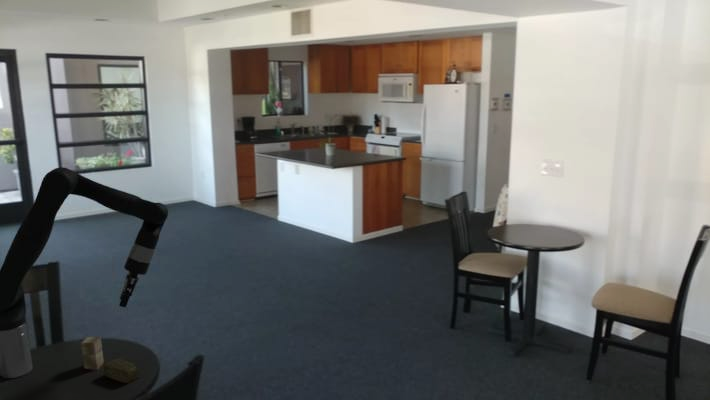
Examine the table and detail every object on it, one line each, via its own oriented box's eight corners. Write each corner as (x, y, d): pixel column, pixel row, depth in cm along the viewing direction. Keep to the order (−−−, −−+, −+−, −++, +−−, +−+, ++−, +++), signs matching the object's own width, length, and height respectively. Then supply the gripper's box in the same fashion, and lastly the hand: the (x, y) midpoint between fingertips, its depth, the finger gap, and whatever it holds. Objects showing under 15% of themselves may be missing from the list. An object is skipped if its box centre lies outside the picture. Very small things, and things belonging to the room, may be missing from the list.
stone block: (127, 385, 181) (125, 371, 180) (103, 377, 186) (101, 364, 185) (141, 377, 186) (139, 363, 185) (117, 369, 191) (115, 356, 190)
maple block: (84, 369, 191) (81, 342, 189) (91, 362, 195) (88, 336, 193) (97, 369, 191) (94, 342, 189) (103, 363, 195) (100, 336, 193)
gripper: (128, 251, 195) (111, 295, 194) (128, 258, 182) (110, 305, 181) (150, 257, 198) (133, 301, 197) (151, 265, 185) (133, 311, 184)
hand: (122, 303), depth 189 cm, fingers open, 8 cm apart
